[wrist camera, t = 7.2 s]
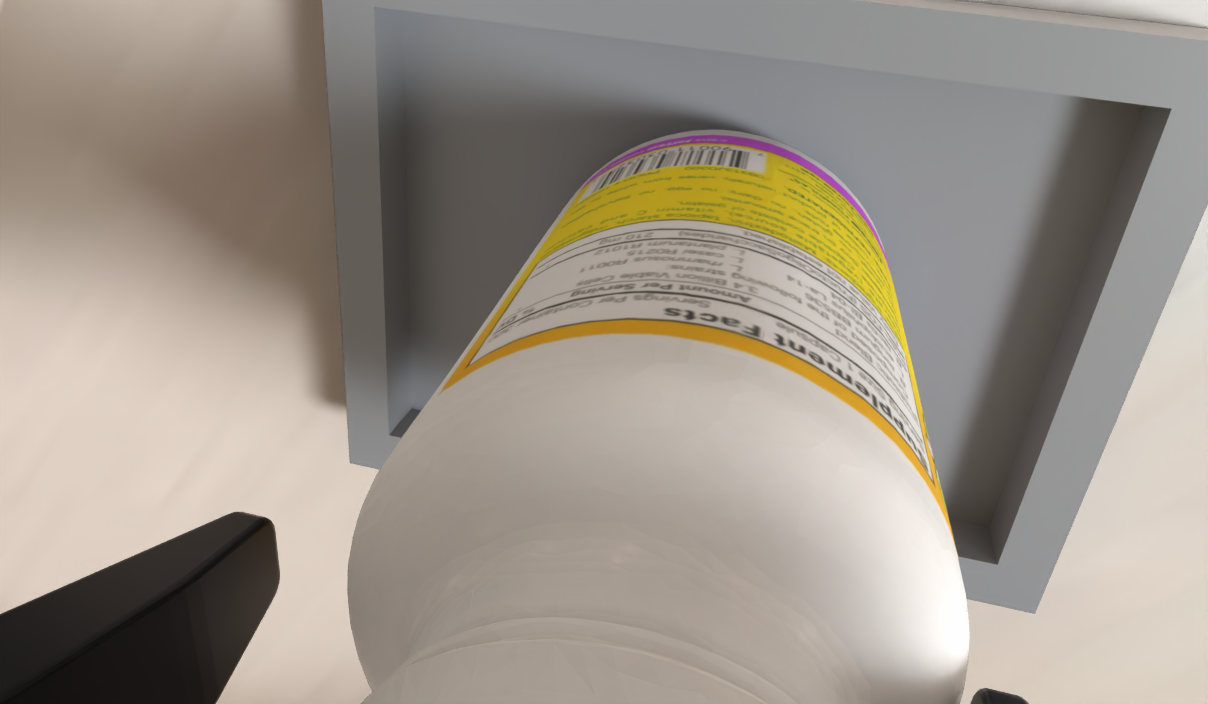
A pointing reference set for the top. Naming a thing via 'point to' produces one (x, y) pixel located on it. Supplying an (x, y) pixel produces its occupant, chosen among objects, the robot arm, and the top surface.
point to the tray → (842, 145)
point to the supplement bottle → (673, 463)
